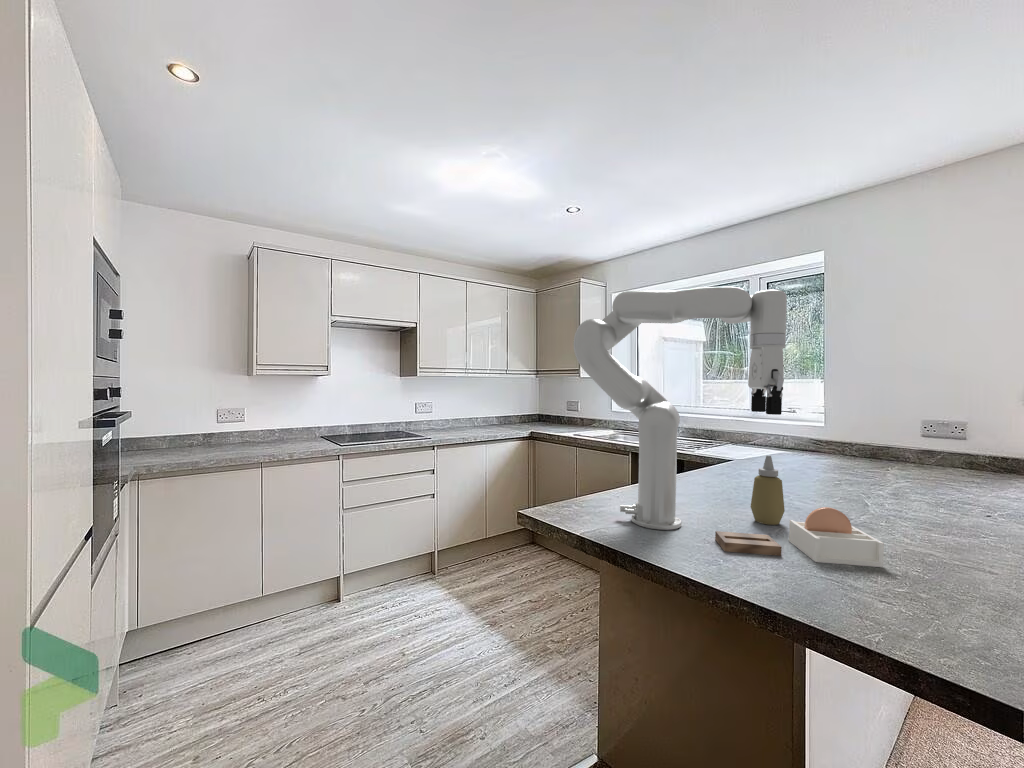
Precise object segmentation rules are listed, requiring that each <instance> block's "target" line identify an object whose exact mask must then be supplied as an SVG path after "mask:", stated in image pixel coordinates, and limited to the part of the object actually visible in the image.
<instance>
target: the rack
mask: <svg viewBox="0 0 1024 768" xmlns="http://www.w3.org/2000/svg"><path fill="white" fill-rule="evenodd" d="M788 525H789V528H788V529H789V530H788V531H789V532H788V533H789V534H788V541H789V542H790V543H791V544H792V545H793V546H795V547H796V548H798V550H800V551H801V552H802V553H803V554H805V555H806V556H807V557H808V558H810V559H811V560H812V561H813V562H814V563H824V564H838V565H847V566H849V565H851V566H862V567H872V568H873V567H875V568H884V556H885V555H884V550H885V547H884V546H885V543H884V542H882V541H880V540H879V539H877V538H876V537H873V536H872V535H870V534H868V533H866V532H864V531H863V530H860V529H859V528H857V527H856V526H854V525H852V524H851V526H852V534H848V533H834V532H820V531H808V530H807V529H805V521H795V520H792V519H789V524H788Z"/></svg>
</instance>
